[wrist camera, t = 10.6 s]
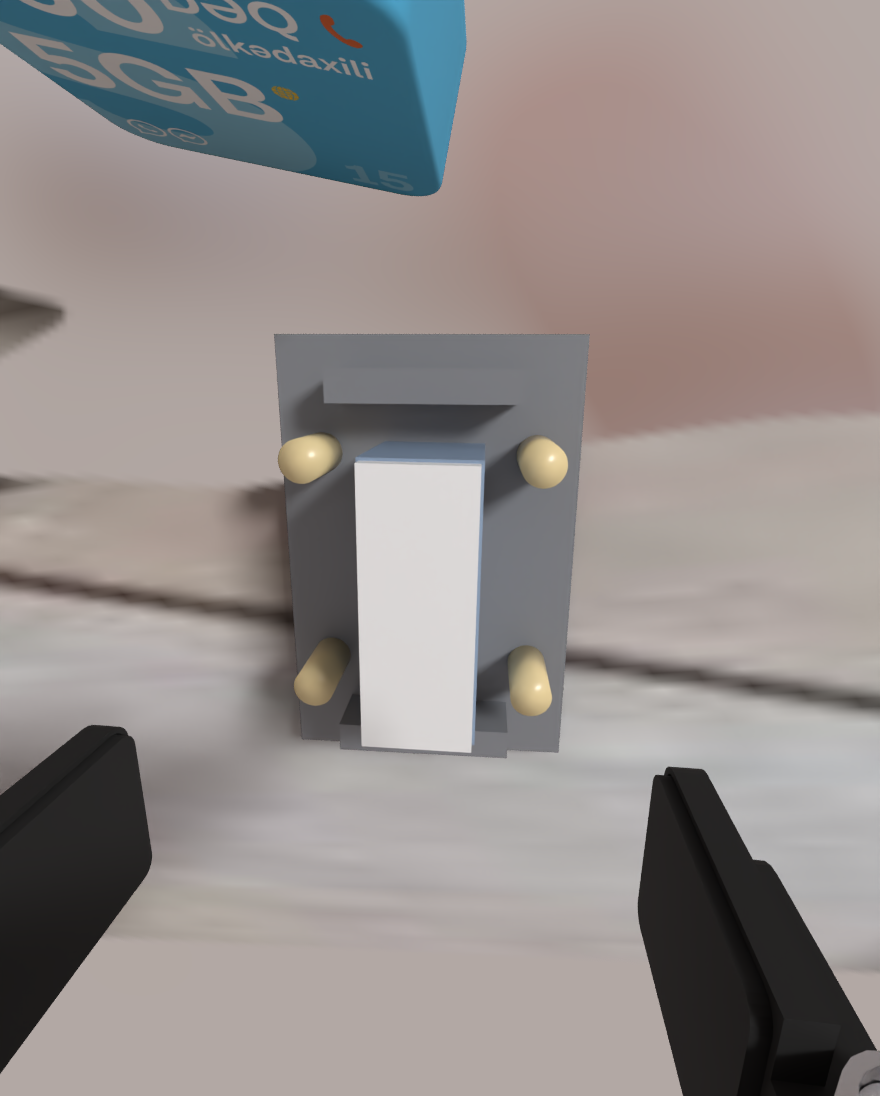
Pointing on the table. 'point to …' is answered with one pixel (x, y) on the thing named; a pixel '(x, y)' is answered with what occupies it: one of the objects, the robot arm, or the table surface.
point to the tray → (508, 509)
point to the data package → (264, 78)
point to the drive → (419, 592)
